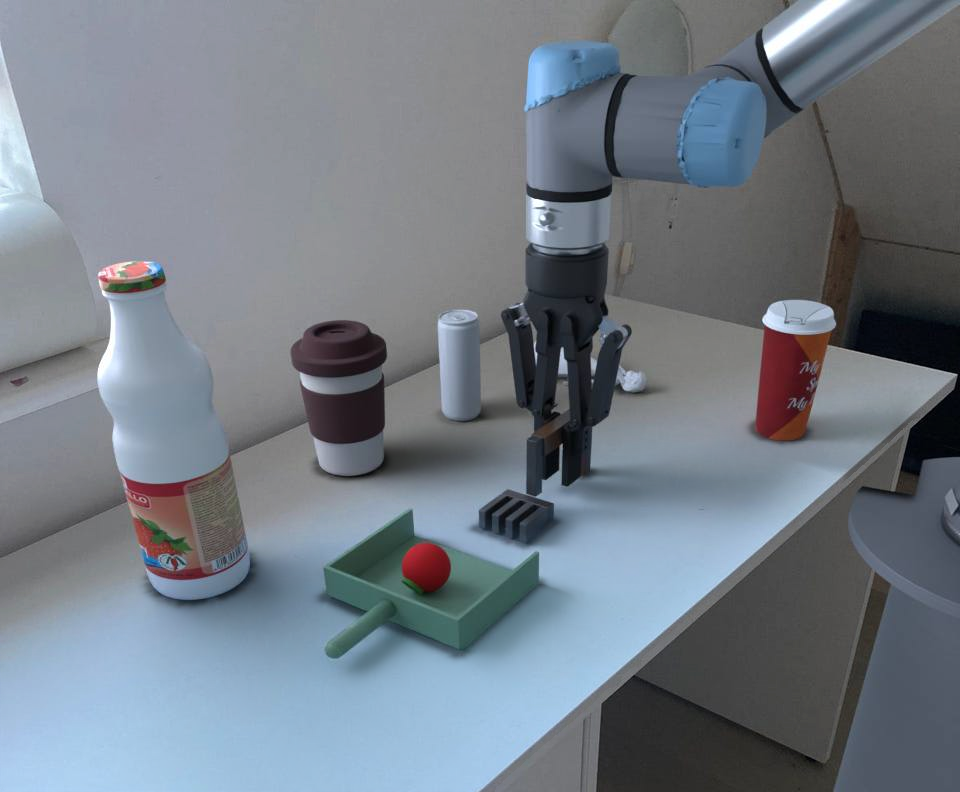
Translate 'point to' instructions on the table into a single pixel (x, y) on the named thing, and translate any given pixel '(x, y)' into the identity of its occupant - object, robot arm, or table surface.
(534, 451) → the fork
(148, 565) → the fruit juice
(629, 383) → the woman figurine
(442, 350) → the beverage can
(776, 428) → the paper cup
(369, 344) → the coffee cup
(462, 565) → the green dustpan
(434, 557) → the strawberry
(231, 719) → the table surface
